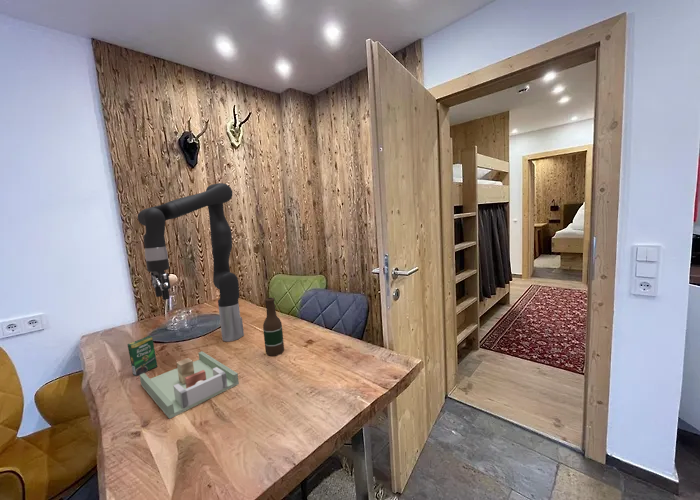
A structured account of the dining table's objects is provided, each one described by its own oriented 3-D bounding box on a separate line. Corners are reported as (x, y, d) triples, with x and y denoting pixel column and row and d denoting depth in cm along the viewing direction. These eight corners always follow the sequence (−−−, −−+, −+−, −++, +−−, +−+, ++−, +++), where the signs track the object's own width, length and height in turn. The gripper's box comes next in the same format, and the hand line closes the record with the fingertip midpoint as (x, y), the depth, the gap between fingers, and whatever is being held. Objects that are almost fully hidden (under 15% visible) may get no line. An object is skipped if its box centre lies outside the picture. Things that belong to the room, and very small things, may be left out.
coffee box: (135, 377, 112) (130, 344, 111) (132, 375, 114) (126, 343, 112) (157, 367, 119) (153, 336, 118) (154, 365, 121) (149, 335, 119)
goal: (218, 380, 104) (216, 367, 104) (227, 386, 100) (225, 373, 99) (175, 400, 94) (173, 385, 93) (183, 408, 89) (181, 393, 89)
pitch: (203, 360, 123) (202, 351, 122) (238, 384, 103) (237, 373, 102) (141, 385, 106) (139, 374, 106) (169, 419, 86) (167, 406, 86)
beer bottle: (261, 354, 124) (256, 300, 121) (274, 347, 131) (269, 295, 128) (275, 357, 121) (270, 301, 118) (288, 349, 127) (283, 296, 125)
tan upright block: (193, 374, 109) (191, 356, 108) (206, 384, 101) (204, 365, 100) (176, 381, 104) (173, 363, 104) (188, 393, 97) (185, 373, 96)
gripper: (173, 258, 115) (179, 298, 117) (161, 256, 124) (167, 293, 126) (151, 261, 109) (157, 303, 111) (141, 259, 118) (146, 297, 120)
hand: (162, 297), depth 119 cm, fingers open, 8 cm apart
